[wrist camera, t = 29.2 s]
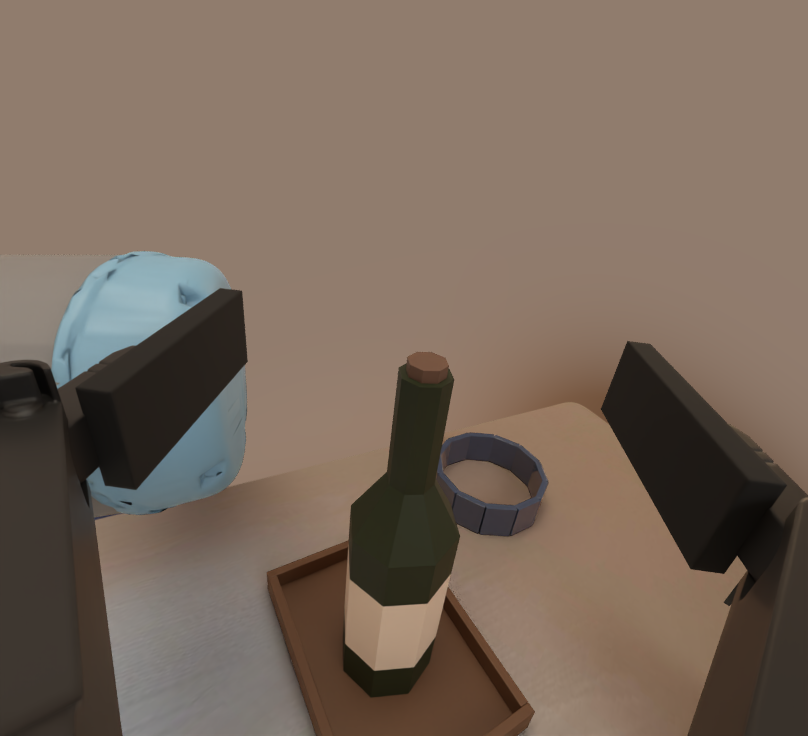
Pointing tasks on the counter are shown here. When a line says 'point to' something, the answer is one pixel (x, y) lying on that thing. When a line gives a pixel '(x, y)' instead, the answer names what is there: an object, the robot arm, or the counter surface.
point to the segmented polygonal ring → (505, 455)
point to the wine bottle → (402, 542)
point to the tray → (397, 714)
